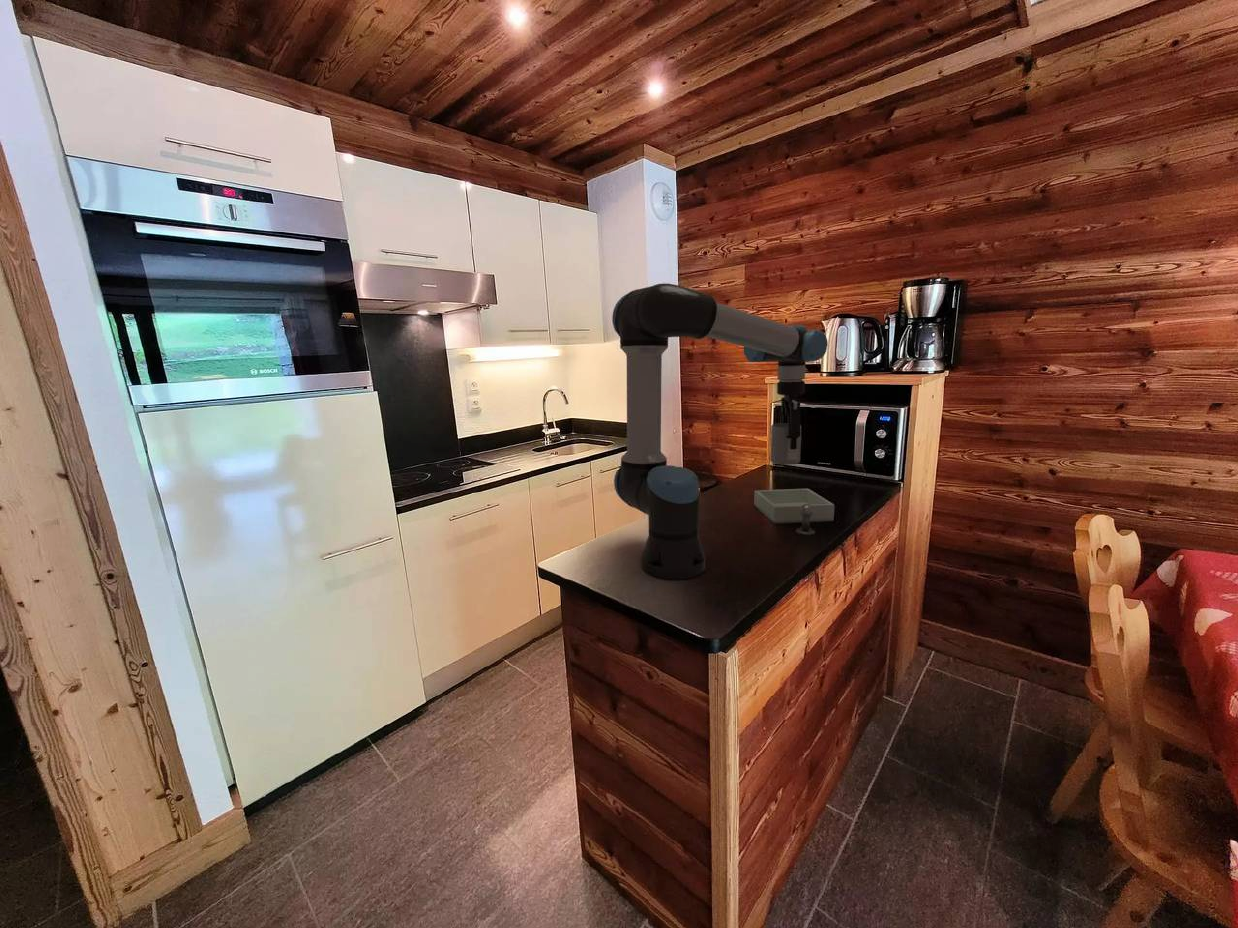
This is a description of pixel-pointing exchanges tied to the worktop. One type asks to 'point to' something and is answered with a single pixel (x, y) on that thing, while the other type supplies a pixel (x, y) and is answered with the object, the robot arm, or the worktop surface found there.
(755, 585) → the worktop surface
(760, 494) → the bin
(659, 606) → the worktop surface
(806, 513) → the stud post
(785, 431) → the mug
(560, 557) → the worktop surface
